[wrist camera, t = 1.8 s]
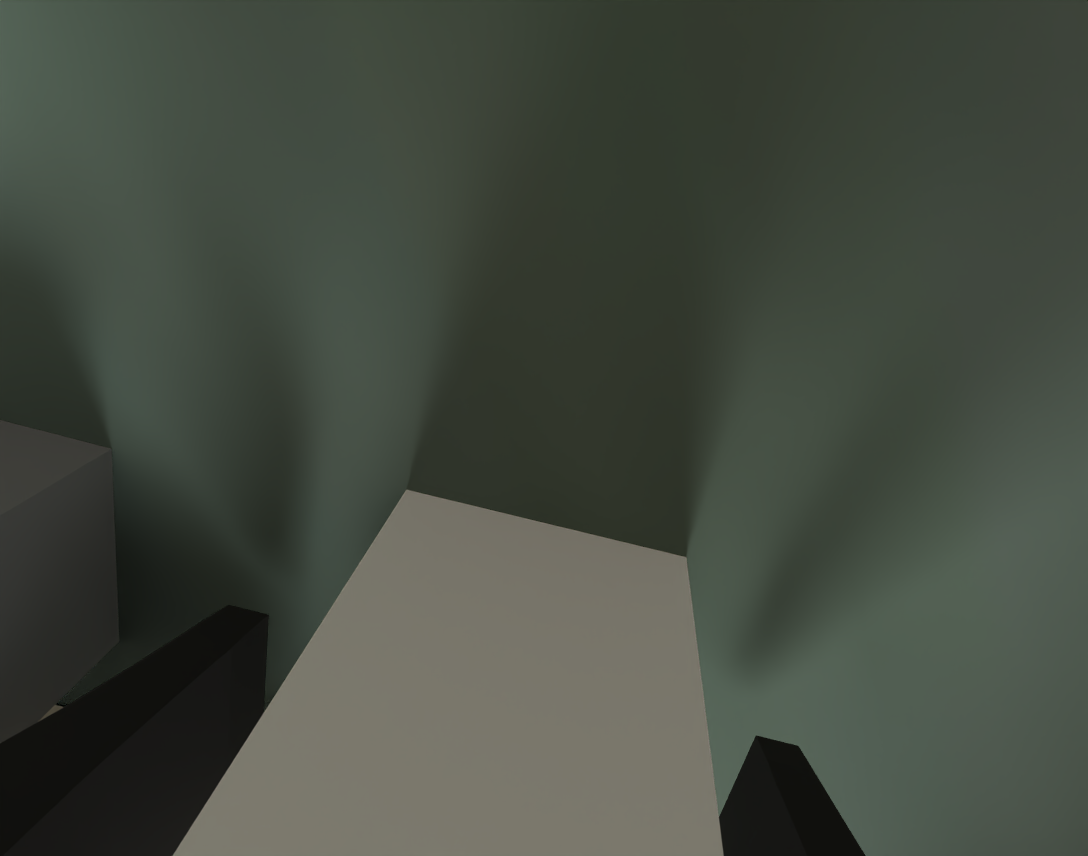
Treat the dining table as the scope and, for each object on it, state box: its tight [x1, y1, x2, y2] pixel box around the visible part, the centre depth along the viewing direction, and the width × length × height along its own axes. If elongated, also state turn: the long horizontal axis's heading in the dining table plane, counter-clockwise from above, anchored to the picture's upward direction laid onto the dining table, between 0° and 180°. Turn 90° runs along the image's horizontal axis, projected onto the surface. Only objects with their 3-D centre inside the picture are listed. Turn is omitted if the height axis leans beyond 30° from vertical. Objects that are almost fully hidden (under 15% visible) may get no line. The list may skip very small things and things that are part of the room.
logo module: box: [173, 490, 724, 856], centre depth 9 cm, size 4×5×6 cm
